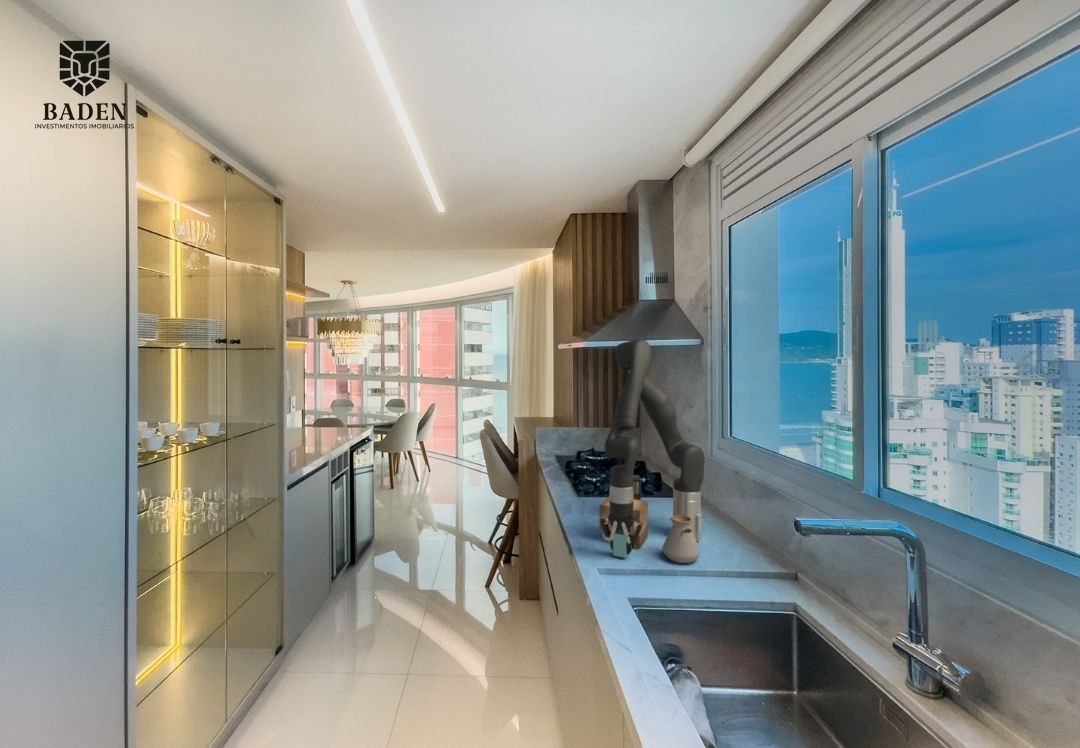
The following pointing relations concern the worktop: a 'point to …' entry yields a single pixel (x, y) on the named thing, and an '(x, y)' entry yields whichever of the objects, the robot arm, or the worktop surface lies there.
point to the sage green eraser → (619, 544)
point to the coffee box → (636, 487)
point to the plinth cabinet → (639, 515)
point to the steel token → (606, 538)
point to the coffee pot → (681, 541)
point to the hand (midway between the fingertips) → (621, 551)
